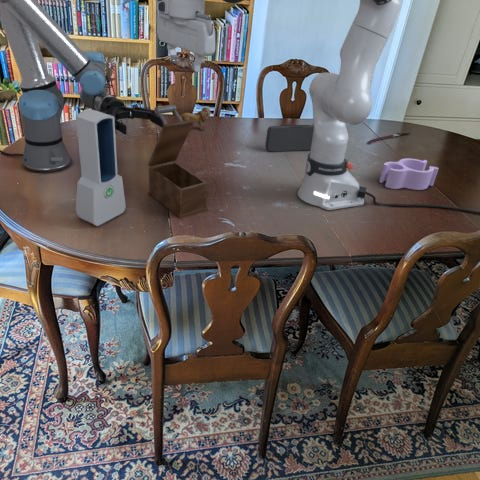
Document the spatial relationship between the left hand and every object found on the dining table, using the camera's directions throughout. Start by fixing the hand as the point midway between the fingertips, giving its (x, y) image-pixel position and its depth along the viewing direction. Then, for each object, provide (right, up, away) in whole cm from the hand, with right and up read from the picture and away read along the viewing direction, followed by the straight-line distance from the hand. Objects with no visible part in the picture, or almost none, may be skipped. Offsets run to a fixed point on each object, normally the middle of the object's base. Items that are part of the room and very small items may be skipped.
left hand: (144, 126), depth 147 cm
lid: (+10, -7, -8) cm, 14 cm away
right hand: (+16, +10, -24) cm, 30 cm away
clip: (+92, -15, +27) cm, 97 cm away
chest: (+10, -24, -1) cm, 26 cm away
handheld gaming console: (+51, +1, +45) cm, 68 cm away
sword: (+99, +11, +67) cm, 120 cm away
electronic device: (-10, -29, -12) cm, 33 cm away
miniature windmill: (-23, +10, +46) cm, 52 cm away
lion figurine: (+10, +13, +55) cm, 58 cm away
